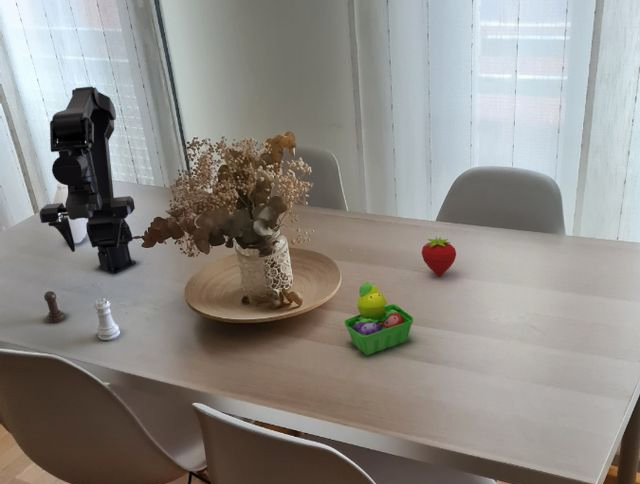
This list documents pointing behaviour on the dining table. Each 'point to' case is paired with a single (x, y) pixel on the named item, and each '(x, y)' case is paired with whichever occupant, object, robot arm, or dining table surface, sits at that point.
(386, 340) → the fruit basket
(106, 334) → the rook chess piece
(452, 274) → the dining table surface
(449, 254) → the strawberry
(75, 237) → the sauce bottle
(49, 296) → the walnut pawn
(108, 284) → the dining table surface
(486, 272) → the dining table surface
